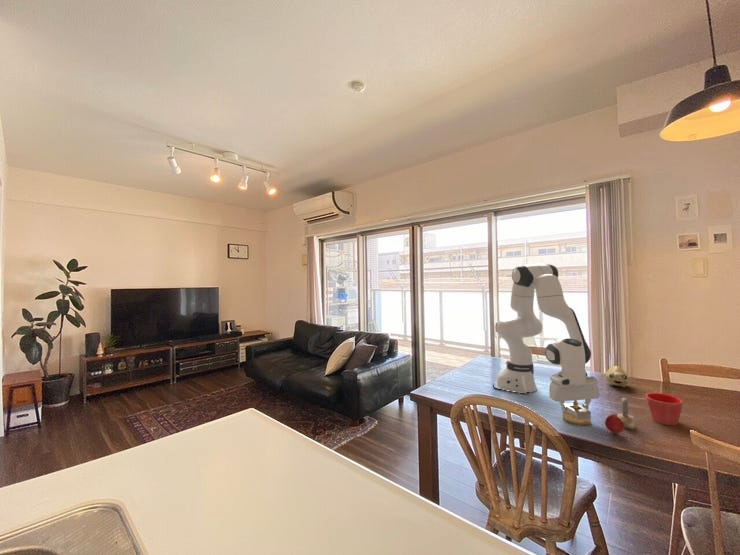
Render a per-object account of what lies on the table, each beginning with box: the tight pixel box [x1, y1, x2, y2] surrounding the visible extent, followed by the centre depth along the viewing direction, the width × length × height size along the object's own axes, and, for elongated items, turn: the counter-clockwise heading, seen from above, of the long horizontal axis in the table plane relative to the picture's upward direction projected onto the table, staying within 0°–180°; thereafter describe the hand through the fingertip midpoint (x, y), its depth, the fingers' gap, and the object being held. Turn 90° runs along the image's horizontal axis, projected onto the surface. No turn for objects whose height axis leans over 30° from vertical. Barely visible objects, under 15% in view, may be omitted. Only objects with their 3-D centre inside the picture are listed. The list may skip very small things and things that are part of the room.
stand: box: [617, 397, 635, 430], centre depth 125 cm, size 5×5×11 cm
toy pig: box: [605, 365, 630, 388], centre depth 166 cm, size 10×12×11 cm
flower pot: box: [645, 392, 684, 426], centre depth 127 cm, size 11×11×10 cm
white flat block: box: [561, 402, 592, 420], centre depth 132 cm, size 6×9×3 cm, turn 3°
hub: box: [562, 400, 592, 427], centre depth 132 cm, size 10×10×8 cm
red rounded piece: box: [604, 413, 625, 435], centre depth 120 cm, size 6×6×8 cm
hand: (575, 409), depth 132 cm, fingers open, 8 cm apart
